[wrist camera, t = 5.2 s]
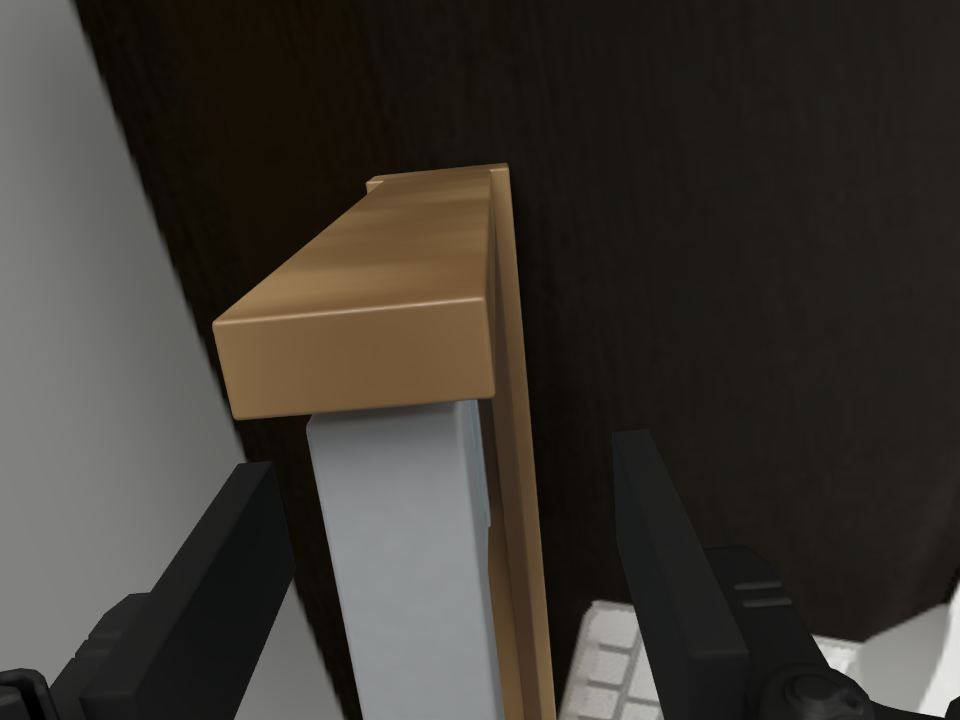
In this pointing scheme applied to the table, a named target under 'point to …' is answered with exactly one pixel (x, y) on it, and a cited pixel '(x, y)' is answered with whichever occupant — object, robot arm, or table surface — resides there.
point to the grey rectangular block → (411, 556)
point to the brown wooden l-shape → (415, 361)
